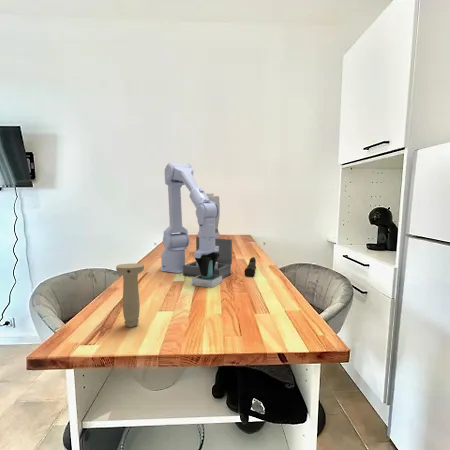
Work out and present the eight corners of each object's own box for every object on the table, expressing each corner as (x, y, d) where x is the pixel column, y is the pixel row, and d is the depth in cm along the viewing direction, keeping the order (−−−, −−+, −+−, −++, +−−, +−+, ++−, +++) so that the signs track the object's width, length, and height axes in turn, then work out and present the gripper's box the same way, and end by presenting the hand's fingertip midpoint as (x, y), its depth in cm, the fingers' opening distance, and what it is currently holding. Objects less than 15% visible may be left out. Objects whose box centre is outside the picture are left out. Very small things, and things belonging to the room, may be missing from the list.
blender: (211, 259, 157) (211, 193, 154) (191, 256, 164) (191, 193, 161) (228, 254, 171) (228, 193, 167) (209, 251, 177) (209, 193, 174)
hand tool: (254, 278, 124) (254, 266, 124) (244, 277, 125) (244, 265, 125) (259, 267, 143) (259, 256, 142) (250, 266, 143) (250, 256, 143)
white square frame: (192, 284, 114) (192, 278, 114) (203, 279, 121) (203, 273, 121) (211, 287, 110) (211, 280, 110) (222, 282, 117) (222, 275, 117)
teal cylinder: (199, 280, 114) (199, 261, 114) (204, 277, 118) (204, 258, 117) (209, 281, 113) (209, 262, 112) (214, 278, 117) (214, 259, 116)
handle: (120, 321, 81) (118, 263, 80) (146, 320, 82) (144, 263, 81) (116, 330, 77) (114, 268, 75) (143, 328, 77) (142, 267, 76)
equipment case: (183, 275, 127) (182, 240, 125) (197, 269, 136) (197, 236, 135) (219, 280, 120) (219, 243, 118) (231, 273, 129) (231, 239, 128)
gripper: (207, 240, 106) (207, 280, 107) (226, 235, 119) (226, 271, 120) (188, 238, 109) (189, 278, 110) (209, 233, 122) (209, 269, 123)
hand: (207, 274), depth 115 cm, fingers closed on teal cylinder, 4 cm apart
